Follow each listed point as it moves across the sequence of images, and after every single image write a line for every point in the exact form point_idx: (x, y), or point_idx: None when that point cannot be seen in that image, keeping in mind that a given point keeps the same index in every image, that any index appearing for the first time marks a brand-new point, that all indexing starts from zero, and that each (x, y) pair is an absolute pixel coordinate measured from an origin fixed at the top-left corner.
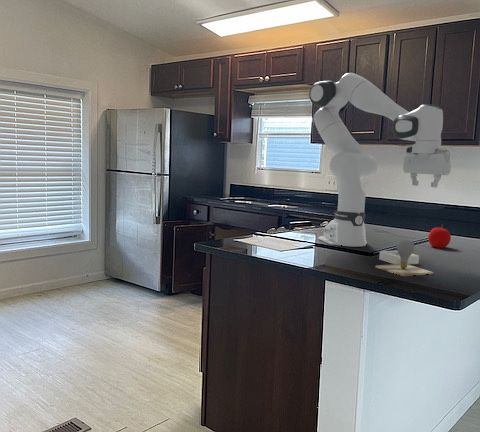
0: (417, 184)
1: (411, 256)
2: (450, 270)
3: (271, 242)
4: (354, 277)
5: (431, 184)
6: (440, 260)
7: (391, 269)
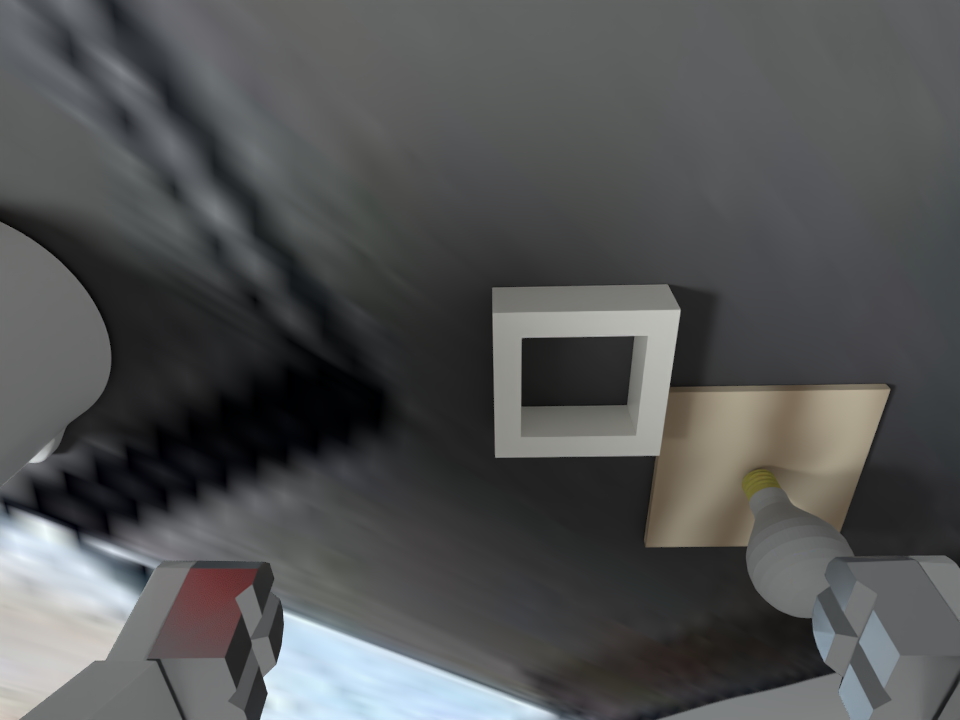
0: (263, 593)
1: (671, 365)
2: (888, 214)
3: (26, 665)
4: (745, 677)
5: (854, 685)
6: (640, 9)
7: (740, 530)
